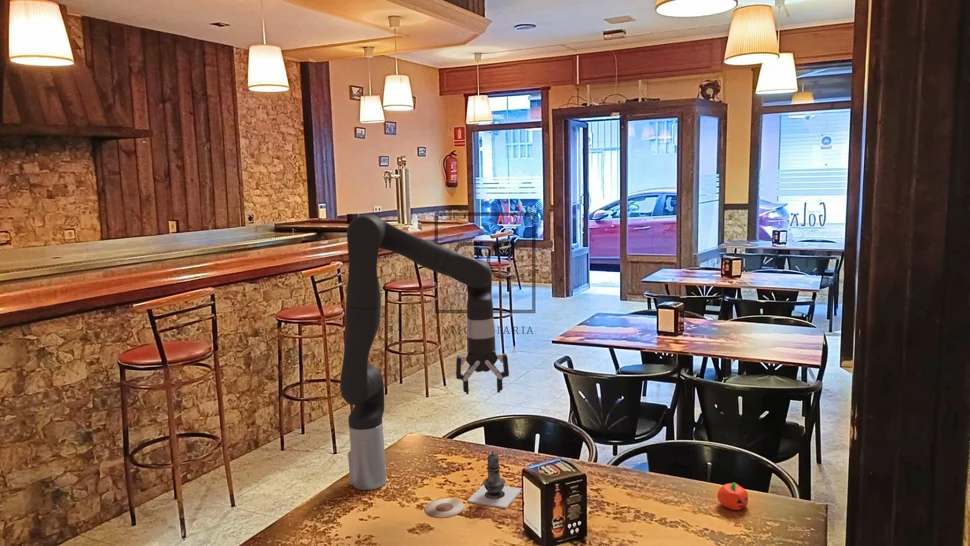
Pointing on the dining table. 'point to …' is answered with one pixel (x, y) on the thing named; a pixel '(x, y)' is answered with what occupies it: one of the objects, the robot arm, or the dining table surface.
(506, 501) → the mat
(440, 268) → the robot arm
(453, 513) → the coaster
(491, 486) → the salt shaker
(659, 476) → the dining table surface
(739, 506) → the halloween pumpkin figurine
